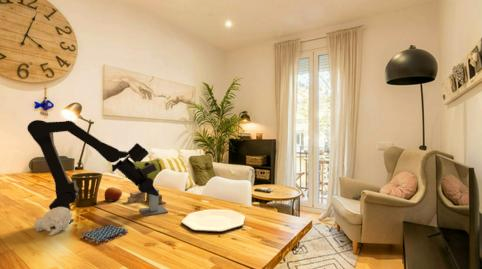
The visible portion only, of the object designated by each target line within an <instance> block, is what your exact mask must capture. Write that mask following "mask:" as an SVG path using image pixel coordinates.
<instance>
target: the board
mask: <svg viewBox="0 0 482 269" xmlns="http://www.w3.org/2000/svg"><path fill="white" fill-rule="evenodd" d="M154 188H155V189H156V191H157V192H158V193H159V192H160V191H159V188H158V187H154ZM159 195H160V194H159ZM159 195H158V196H154V195H151V194H149V202H148V208H149V209H150V211H158V206H159V205H158V203H159Z"/></svg>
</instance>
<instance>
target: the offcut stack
mask: <svg viewBox="0 0 482 269" xmlns="http://www.w3.org/2000/svg"><path fill="white" fill-rule="evenodd" d="M144 201H146V193H144V192H143V193H142V192H141V191H139V190H138V191H133V192H129V196H128V197H127V203H130V204H135V203H140V202H144Z"/></svg>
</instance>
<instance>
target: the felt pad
mask: <svg viewBox="0 0 482 269" xmlns="http://www.w3.org/2000/svg"><path fill="white" fill-rule="evenodd" d="M139 211H140V212H141V214H142V217H149V216H156V215H162V214H163V215H165V214H168V213H169V211H168V210H167V209H166V207H165V206H164V205H158V211H150V209H149V207H143V208H139Z"/></svg>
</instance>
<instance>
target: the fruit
mask: <svg viewBox="0 0 482 269" xmlns="http://www.w3.org/2000/svg"><path fill="white" fill-rule="evenodd" d="M122 195H123V192H122V190H121V189H120V188H117V187H113V186H112V187H107V188H106V189H105V191H104V201H105V202H109V203H110V204H111V202H117V201H119V200H120V198H121V197H122Z"/></svg>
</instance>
